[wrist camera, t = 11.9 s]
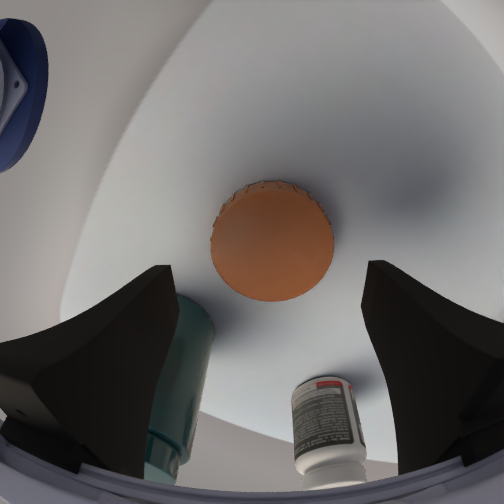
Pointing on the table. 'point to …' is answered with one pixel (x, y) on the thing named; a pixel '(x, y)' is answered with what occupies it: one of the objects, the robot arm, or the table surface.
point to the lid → (272, 241)
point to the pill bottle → (327, 434)
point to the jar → (179, 394)
